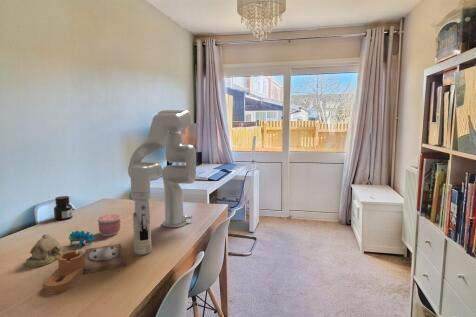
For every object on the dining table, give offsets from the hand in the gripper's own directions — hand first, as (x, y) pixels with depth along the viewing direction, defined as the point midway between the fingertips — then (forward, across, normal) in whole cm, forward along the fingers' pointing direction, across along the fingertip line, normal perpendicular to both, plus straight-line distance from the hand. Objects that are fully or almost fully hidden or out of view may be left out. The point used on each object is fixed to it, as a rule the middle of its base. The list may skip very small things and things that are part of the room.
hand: (142, 236), depth 132 cm
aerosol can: (+7, 0, 0) cm, 7 cm away
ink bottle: (+7, +67, +33) cm, 75 cm away
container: (+7, +30, +11) cm, 33 cm away
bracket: (+7, -12, +28) cm, 31 cm away
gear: (+7, +21, +23) cm, 32 cm away
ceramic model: (+7, +10, +36) cm, 38 cm away
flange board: (+7, 0, +15) cm, 17 cm away
